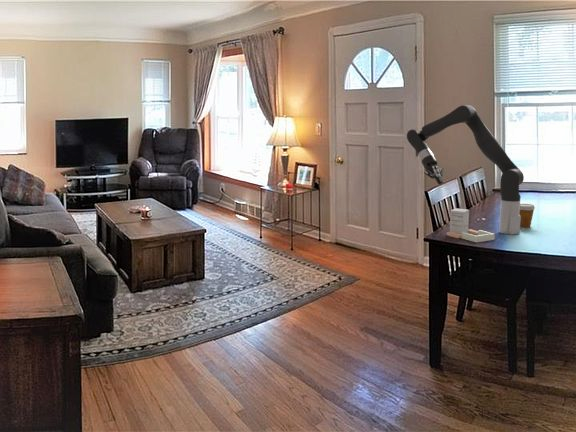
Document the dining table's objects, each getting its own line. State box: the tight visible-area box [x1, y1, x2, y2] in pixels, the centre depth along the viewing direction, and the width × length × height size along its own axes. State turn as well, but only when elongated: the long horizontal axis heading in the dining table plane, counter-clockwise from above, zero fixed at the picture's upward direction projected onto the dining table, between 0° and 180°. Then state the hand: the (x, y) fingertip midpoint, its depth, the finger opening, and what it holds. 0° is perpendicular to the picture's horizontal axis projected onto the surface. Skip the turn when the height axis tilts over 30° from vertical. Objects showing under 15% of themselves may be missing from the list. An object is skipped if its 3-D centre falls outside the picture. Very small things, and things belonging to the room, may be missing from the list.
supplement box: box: [449, 208, 470, 235], centre depth 286 cm, size 7×7×13 cm
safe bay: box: [461, 229, 496, 243], centre depth 275 cm, size 10×12×3 cm
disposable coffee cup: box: [519, 203, 536, 229], centre depth 301 cm, size 10×10×12 cm
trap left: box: [446, 231, 463, 239], centre depth 281 cm, size 8×3×2 cm, turn 25°
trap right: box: [468, 228, 478, 236], centre depth 286 cm, size 8×3×2 cm, turn 26°
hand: (441, 183), depth 298 cm, fingers closed
